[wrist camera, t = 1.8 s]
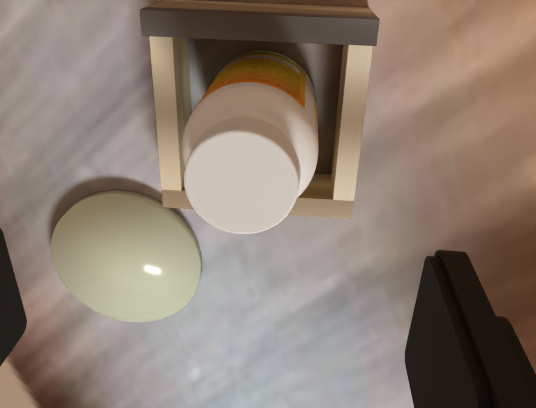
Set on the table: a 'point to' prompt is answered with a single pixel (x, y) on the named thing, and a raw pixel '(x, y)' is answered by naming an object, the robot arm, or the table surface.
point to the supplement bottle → (251, 143)
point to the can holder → (261, 29)
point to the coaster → (126, 256)
